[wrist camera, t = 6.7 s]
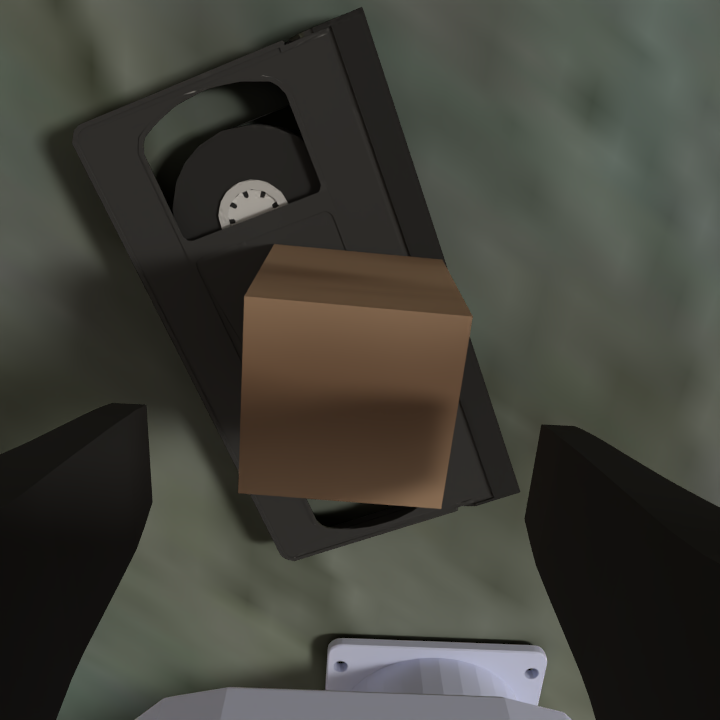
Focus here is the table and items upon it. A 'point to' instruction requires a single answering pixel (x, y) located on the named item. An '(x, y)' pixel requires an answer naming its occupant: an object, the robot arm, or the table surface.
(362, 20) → the vhs tape
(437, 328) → the walnut block
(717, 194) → the table surface
